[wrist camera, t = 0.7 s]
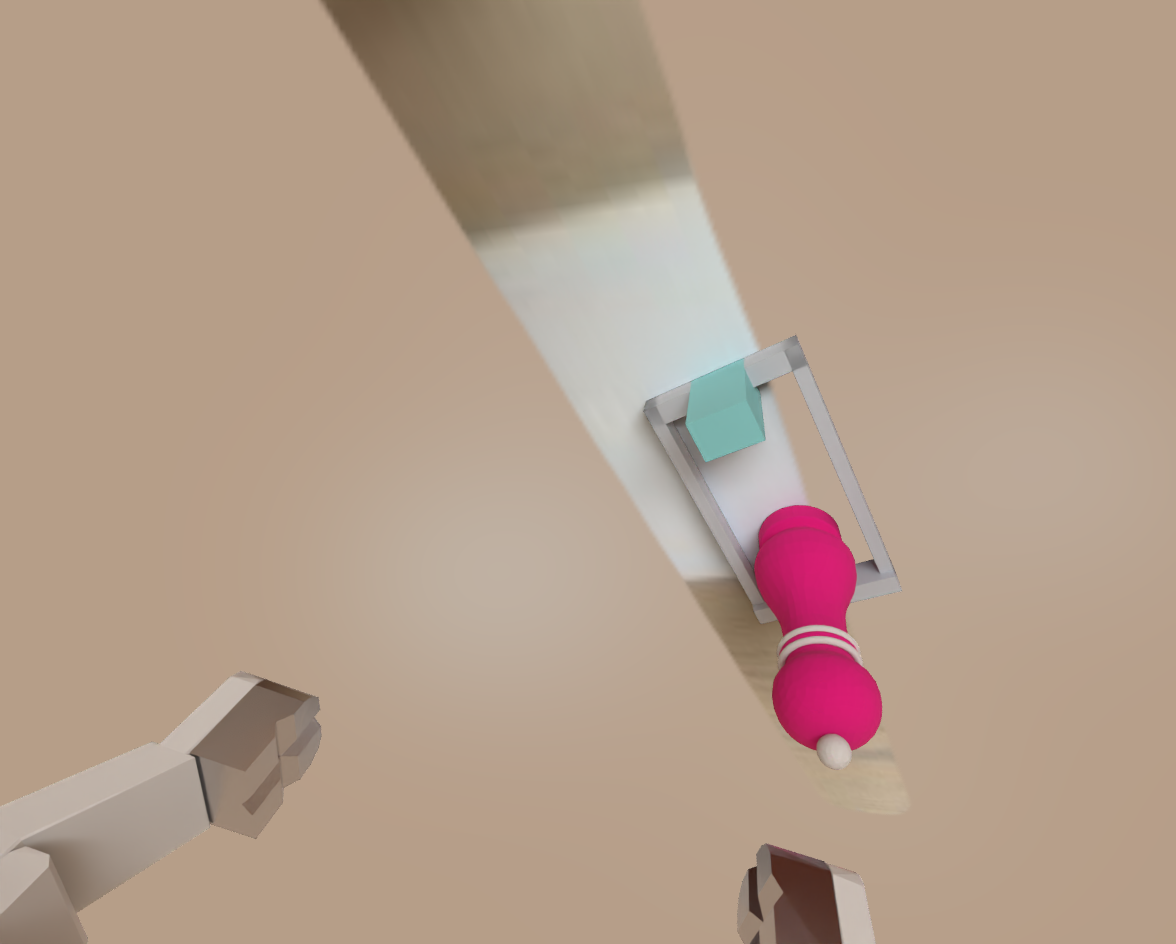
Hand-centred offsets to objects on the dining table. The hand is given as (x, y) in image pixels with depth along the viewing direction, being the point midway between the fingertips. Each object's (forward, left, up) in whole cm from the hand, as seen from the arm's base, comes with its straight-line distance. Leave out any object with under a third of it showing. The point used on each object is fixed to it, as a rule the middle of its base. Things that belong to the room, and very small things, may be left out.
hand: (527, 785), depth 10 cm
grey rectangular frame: (+18, 0, -35) cm, 39 cm away
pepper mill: (+23, 0, -35) cm, 42 cm away
